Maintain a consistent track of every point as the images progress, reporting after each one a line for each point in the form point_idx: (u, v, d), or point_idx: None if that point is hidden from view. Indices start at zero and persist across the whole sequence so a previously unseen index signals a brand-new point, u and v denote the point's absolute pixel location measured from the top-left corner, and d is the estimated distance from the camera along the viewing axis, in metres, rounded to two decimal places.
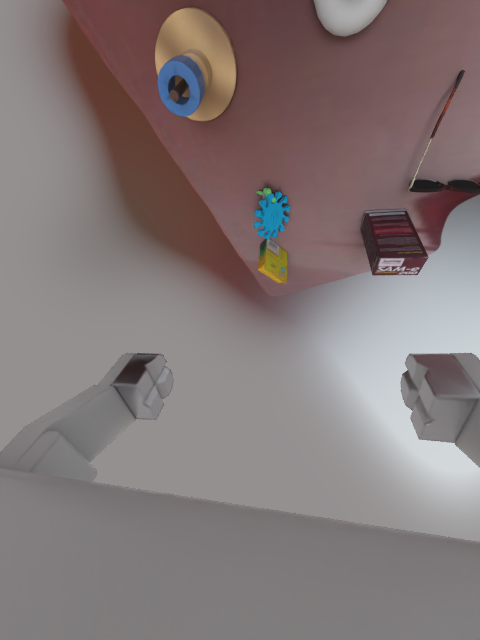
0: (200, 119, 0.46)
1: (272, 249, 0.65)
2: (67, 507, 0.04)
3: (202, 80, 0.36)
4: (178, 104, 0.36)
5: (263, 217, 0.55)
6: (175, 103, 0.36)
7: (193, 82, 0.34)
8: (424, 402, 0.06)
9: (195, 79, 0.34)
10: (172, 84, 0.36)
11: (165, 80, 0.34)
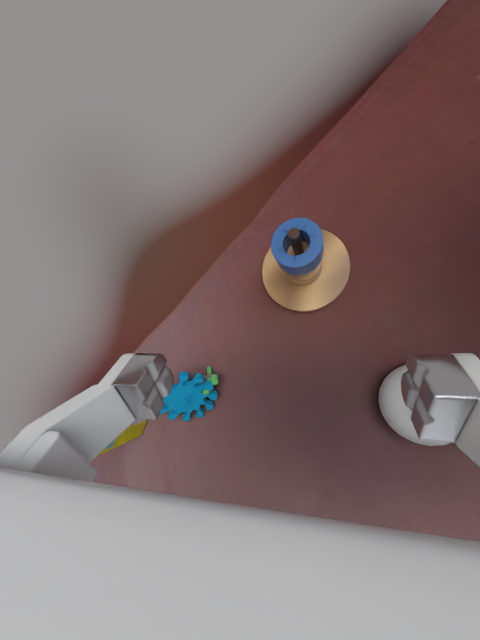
0: (264, 281, 0.40)
1: None
2: (67, 507, 0.04)
3: (309, 269, 0.31)
4: (282, 244, 0.29)
5: (180, 385, 0.38)
6: (282, 240, 0.30)
7: (309, 257, 0.28)
8: (424, 402, 0.06)
9: (312, 258, 0.28)
10: None
11: (301, 226, 0.29)
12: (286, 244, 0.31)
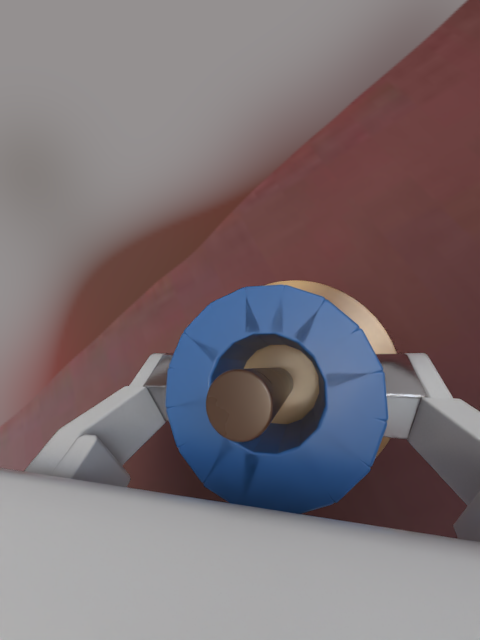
0: None
1: None
2: (67, 507, 0.04)
3: None
4: (209, 383, 0.07)
5: None
6: (210, 368, 0.07)
7: (315, 480, 0.06)
8: None
9: (332, 495, 0.06)
10: (271, 341, 0.09)
11: (291, 323, 0.07)
12: (236, 362, 0.09)
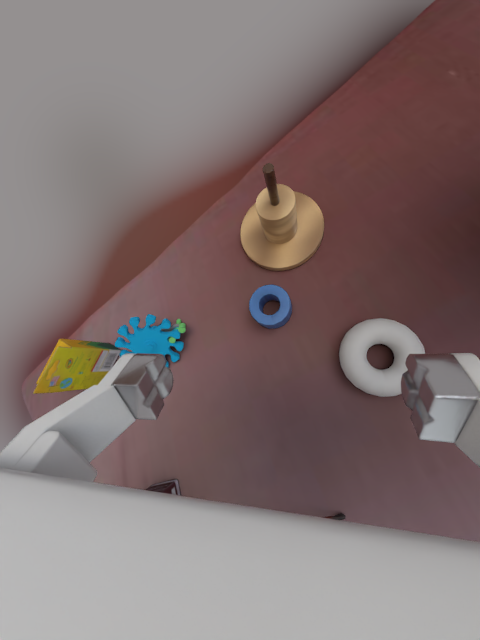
0: (242, 239, 0.41)
1: (102, 360, 0.42)
2: (67, 507, 0.04)
3: (279, 325, 0.37)
4: (258, 304, 0.36)
5: (146, 329, 0.38)
6: (258, 301, 0.36)
7: (278, 318, 0.35)
8: (424, 402, 0.06)
9: (280, 320, 0.35)
10: (270, 298, 0.38)
11: (274, 292, 0.36)
12: (262, 302, 0.38)
